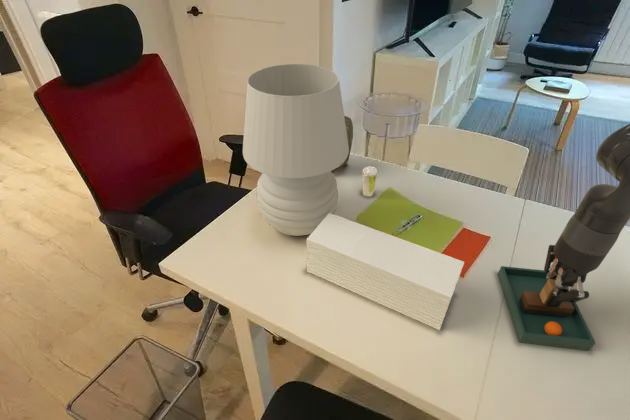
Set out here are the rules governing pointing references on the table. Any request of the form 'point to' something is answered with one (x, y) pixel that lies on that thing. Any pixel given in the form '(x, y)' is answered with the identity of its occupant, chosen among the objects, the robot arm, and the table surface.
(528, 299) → the brush
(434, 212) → the table surface
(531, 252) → the table surface
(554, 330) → the ball
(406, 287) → the stack of papers
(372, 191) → the milkshake
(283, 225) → the table lamp
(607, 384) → the table surface
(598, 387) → the table surface
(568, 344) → the tray
